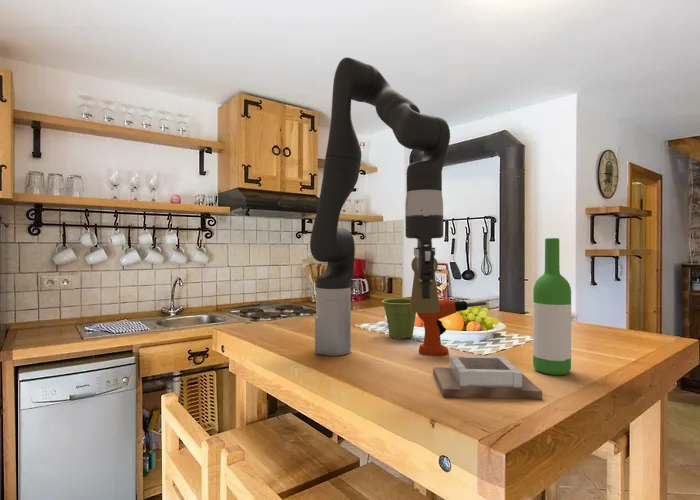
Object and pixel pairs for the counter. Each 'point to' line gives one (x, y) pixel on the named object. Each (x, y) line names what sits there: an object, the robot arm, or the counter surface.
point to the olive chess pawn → (416, 297)
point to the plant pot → (399, 318)
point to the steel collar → (485, 372)
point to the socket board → (452, 388)
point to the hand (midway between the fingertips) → (424, 299)
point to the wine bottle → (552, 316)
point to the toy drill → (440, 325)
